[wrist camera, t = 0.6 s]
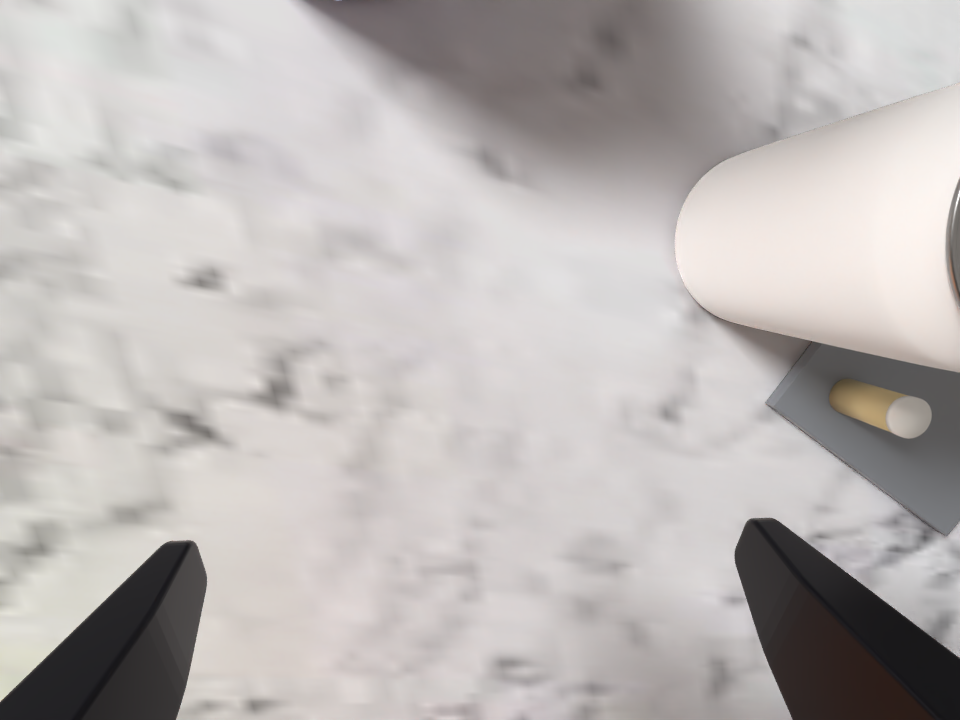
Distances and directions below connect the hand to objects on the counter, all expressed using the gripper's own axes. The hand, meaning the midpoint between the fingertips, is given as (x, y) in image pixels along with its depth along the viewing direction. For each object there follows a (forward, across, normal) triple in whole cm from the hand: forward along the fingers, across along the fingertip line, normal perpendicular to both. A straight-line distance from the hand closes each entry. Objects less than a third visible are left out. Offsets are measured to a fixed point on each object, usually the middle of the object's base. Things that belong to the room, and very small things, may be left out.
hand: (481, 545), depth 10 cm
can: (+14, -12, 0) cm, 19 cm away
